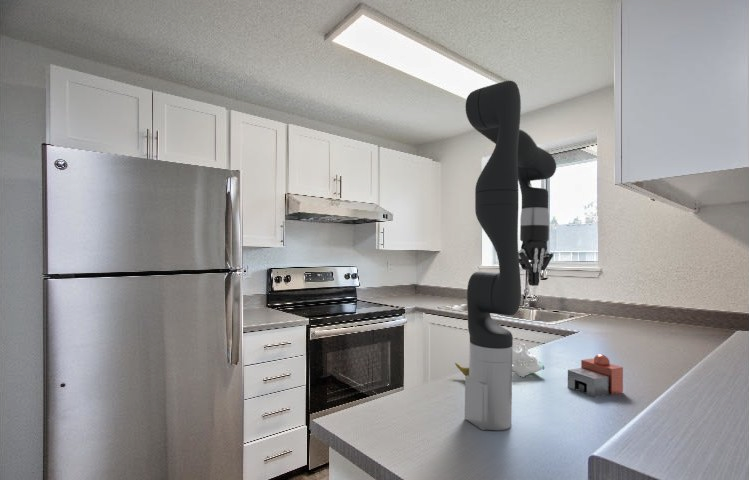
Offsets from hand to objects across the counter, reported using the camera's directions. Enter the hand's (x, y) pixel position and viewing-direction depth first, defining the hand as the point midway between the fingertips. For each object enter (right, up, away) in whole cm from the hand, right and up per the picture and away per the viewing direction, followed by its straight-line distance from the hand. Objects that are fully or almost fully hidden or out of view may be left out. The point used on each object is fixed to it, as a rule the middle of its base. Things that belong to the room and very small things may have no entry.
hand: (533, 285), depth 105 cm
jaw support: (+1, -30, +12) cm, 32 cm away
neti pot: (-16, -29, +2) cm, 33 cm away
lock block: (+14, -29, -2) cm, 33 cm away
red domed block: (+17, -29, -1) cm, 34 cm away
